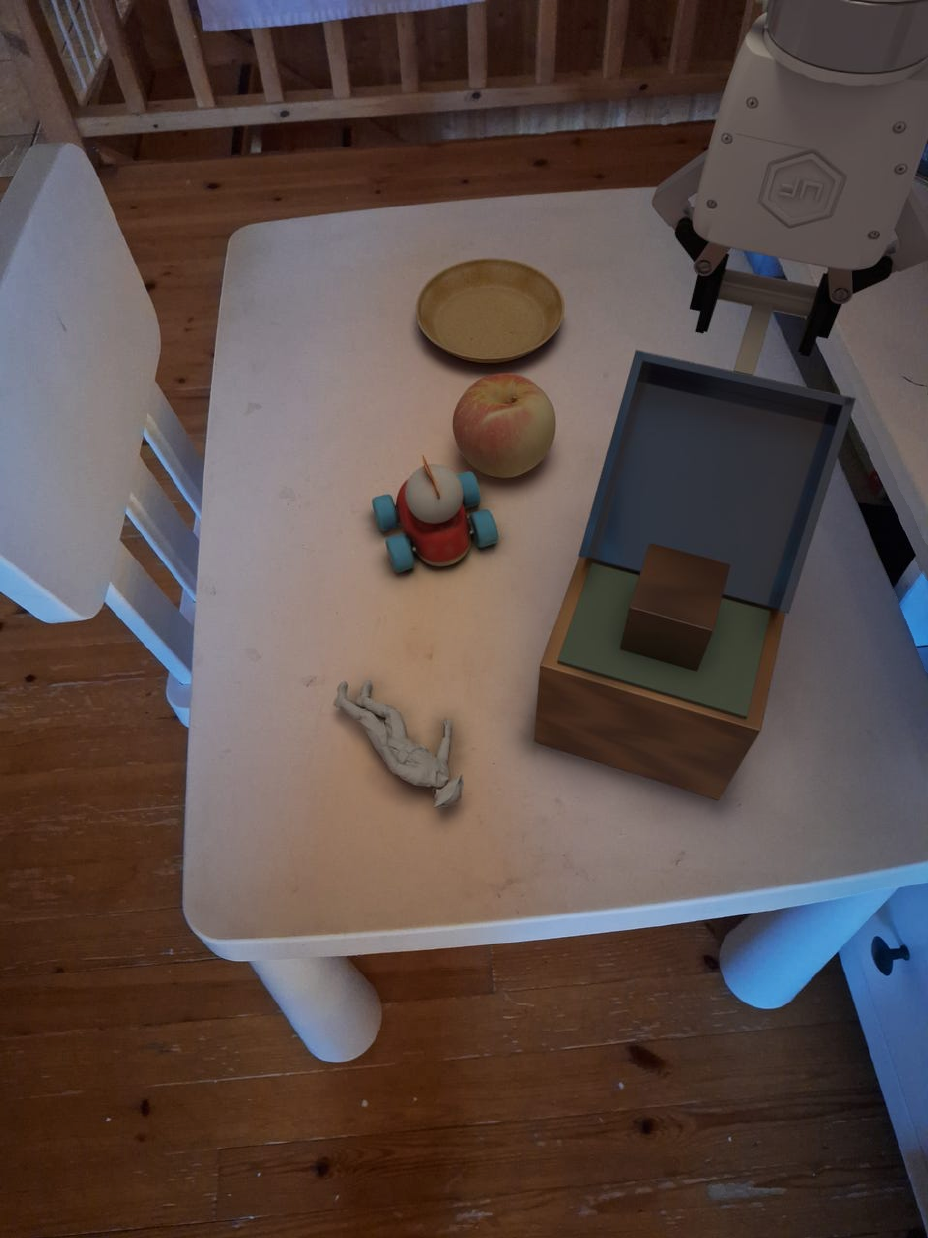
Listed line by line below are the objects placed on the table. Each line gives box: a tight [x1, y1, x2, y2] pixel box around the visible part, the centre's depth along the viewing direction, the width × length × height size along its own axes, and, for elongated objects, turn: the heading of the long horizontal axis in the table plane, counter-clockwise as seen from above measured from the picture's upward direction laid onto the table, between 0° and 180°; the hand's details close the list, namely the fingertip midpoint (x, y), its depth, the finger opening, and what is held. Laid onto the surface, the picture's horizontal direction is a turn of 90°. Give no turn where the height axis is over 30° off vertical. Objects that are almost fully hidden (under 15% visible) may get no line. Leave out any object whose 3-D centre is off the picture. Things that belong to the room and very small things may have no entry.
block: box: [620, 543, 730, 671], centre depth 56 cm, size 5×5×5 cm
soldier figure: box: [333, 679, 465, 810], centre depth 66 cm, size 8×5×12 cm
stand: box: [533, 557, 787, 801], centre depth 67 cm, size 14×23×12 cm, turn 160°
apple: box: [452, 372, 557, 479], centre depth 79 cm, size 9×9×8 cm
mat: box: [557, 563, 770, 719], centre depth 58 cm, size 12×8×1 cm, turn 70°
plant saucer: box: [415, 257, 565, 364], centre depth 90 cm, size 15×15×3 cm
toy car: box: [371, 454, 499, 573], centre depth 74 cm, size 9×9×10 cm
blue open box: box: [577, 268, 856, 614], centre depth 57 cm, size 13×19×5 cm
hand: (756, 327), depth 55 cm, fingers closed on blue open box, 5 cm apart
